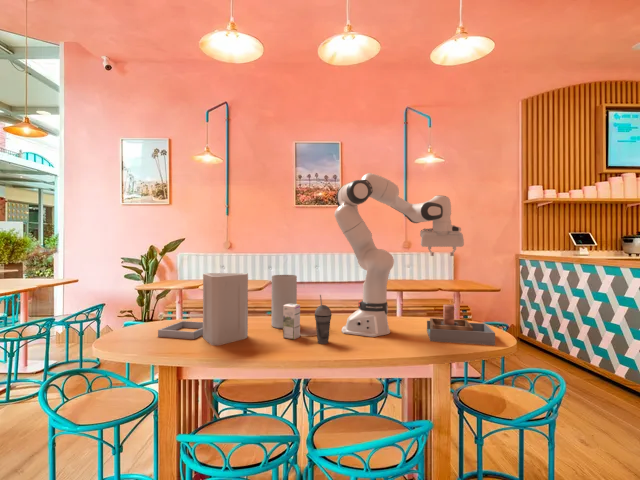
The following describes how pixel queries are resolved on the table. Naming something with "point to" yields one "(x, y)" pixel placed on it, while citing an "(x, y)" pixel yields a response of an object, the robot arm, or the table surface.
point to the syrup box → (291, 321)
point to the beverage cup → (323, 323)
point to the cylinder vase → (282, 296)
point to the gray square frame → (171, 332)
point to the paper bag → (225, 307)
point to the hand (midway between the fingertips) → (441, 256)
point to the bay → (463, 335)
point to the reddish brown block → (448, 314)
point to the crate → (458, 325)
